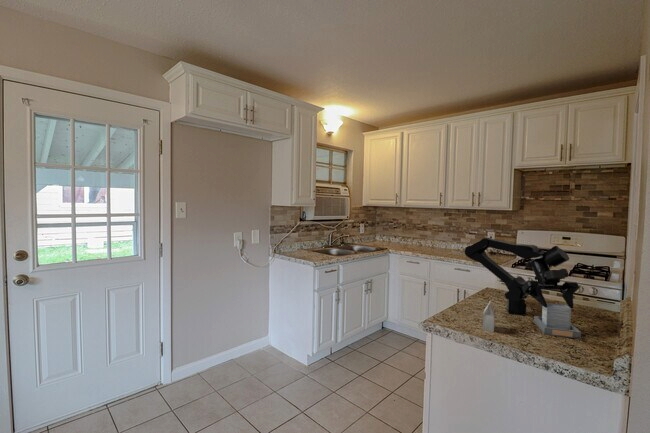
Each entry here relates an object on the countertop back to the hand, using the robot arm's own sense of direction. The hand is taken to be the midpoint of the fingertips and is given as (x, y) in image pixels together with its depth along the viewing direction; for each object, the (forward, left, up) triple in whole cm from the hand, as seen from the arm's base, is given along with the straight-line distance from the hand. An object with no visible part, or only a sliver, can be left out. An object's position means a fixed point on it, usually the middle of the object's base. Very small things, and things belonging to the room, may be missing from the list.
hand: (559, 307), depth 118 cm
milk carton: (-24, -6, -9) cm, 27 cm away
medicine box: (0, +1, -8) cm, 9 cm away
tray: (0, +1, -9) cm, 9 cm away
